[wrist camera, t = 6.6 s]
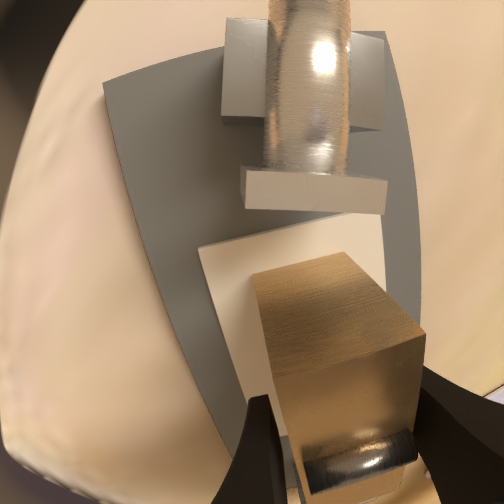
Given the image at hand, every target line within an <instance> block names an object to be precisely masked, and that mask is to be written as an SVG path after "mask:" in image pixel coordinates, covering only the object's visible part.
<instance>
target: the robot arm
mask: <svg viewBox="0 0 504 504" xmlns="http://www.w3.org/2000/svg"><path fill="white" fill-rule="evenodd" d="M413 435H414V437H415V440H416V443H417V447H418V452H419V454H420V456H421V457H422V459H423V461H424V463H425V465H426V467H427V472H426V475H425V476H426V478H432V481H433V483H434V485H435V488H436V491H437V493H438V496H439V499H440V501H441V504H504V385H503V386H502V387H500V388H499V389H497V390H495V391H494V392H492V393H490V394H489V395H487V396H485V397H481V396H479V395H477V394H474V393H472V392H470V391H468V390H466V389H464V388H462V387H460V386H458V385H456V384H454V383H452V382H450V381H448V380H447V379H445V378H443V377H442V376H440V375H438V374H436V373H435V372H433V371H432V370H430V369H428V368H427V367H425V366H424V365H423V371H422V379H421V387H420V394H419V400H418V406H417V412H416V418H415V423H414V428H413ZM211 504H288V503H287V492H286V480H285V469H284V458H283V450H282V445H281V440H280V436H279V431H278V427H277V423H276V420H275V417H274V413H273V410H272V406H271V403H270V399H269V396H268V394H265V395H260V396H255V397H251V398H250V399H249V400H248V408H247V414H246V419H245V423H244V427H243V431H242V434H241V438H240V441H239V444H238V447H237V450H236V453H235V455H234V458H233V461H232V463H231V466H230V468H229V470H228V473H227V475H226V477H225V479H224V481H223V483H222V485H221V487H220V489H219V491H218V492H217V494H216V496H215V498H214V499H213V501H212V503H211Z"/></svg>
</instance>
